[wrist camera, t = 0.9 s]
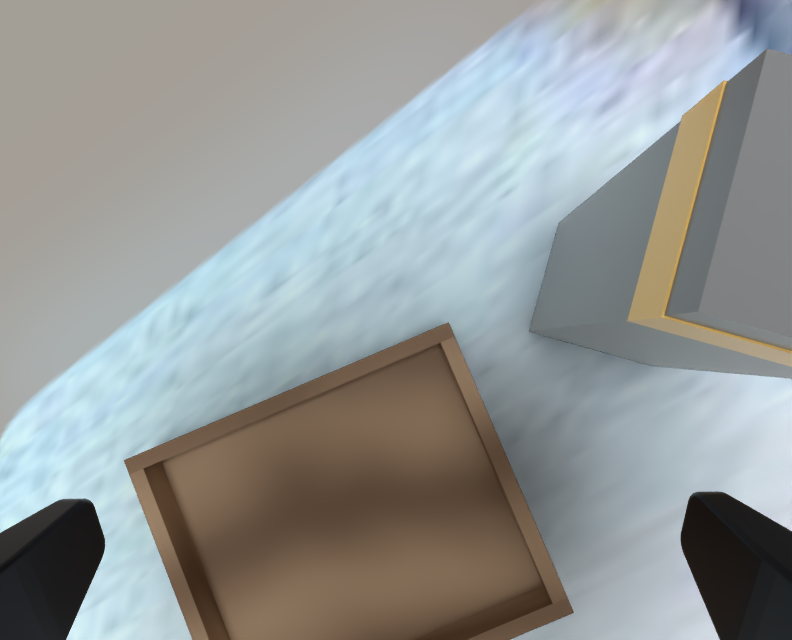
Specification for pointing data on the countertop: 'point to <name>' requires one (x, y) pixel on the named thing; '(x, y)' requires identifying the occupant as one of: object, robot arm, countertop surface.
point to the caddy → (689, 241)
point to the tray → (352, 511)
